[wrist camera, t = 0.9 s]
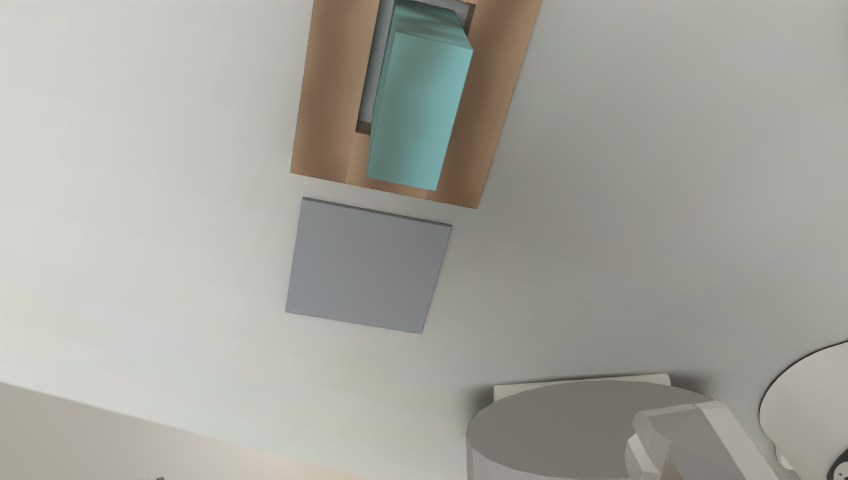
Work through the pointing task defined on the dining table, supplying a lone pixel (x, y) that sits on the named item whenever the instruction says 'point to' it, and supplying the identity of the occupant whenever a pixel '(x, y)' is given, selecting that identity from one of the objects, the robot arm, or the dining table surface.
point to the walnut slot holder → (344, 80)
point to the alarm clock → (565, 427)
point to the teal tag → (417, 94)
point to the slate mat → (365, 266)
